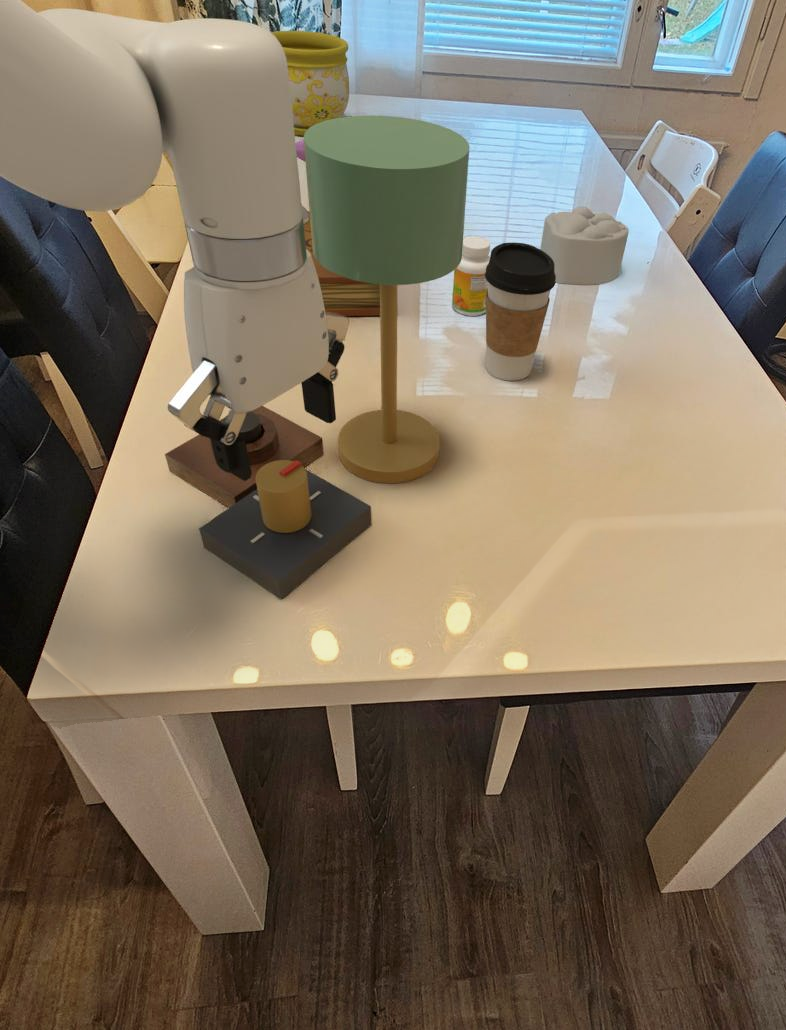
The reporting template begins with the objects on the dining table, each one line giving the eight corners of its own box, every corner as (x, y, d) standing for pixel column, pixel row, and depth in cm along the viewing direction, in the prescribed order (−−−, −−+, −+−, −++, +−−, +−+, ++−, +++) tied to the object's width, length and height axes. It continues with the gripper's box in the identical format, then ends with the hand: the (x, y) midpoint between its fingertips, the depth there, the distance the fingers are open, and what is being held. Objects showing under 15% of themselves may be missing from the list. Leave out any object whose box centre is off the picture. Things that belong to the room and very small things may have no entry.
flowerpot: (368, 131, 157) (366, 45, 146) (306, 146, 146) (298, 54, 135) (313, 111, 164) (307, 27, 153) (250, 124, 154) (239, 35, 142)
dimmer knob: (287, 540, 63) (280, 497, 59) (252, 518, 65) (244, 475, 61) (321, 514, 66) (317, 471, 62) (287, 493, 67) (281, 450, 64)
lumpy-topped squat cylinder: (535, 255, 117) (542, 202, 111) (609, 256, 120) (620, 204, 114) (548, 284, 110) (557, 229, 104) (627, 285, 112) (640, 231, 106)
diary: (395, 316, 99) (395, 277, 95) (257, 318, 95) (251, 278, 91) (380, 246, 115) (379, 210, 111) (261, 246, 111) (256, 209, 107)
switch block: (237, 513, 69) (231, 482, 66) (169, 470, 72) (160, 439, 69) (323, 453, 76) (321, 424, 73) (258, 417, 80) (253, 388, 77)
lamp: (398, 507, 71) (400, 182, 49) (303, 454, 76) (267, 135, 54) (471, 446, 79) (500, 143, 57) (381, 401, 84) (377, 106, 62)
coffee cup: (517, 345, 96) (531, 236, 85) (553, 377, 91) (573, 265, 81) (464, 359, 92) (473, 247, 82) (499, 392, 87) (513, 278, 77)
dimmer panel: (281, 599, 62) (278, 579, 60) (203, 547, 65) (197, 527, 63) (371, 524, 69) (371, 504, 67) (297, 481, 73) (294, 461, 71)
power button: (242, 450, 70) (239, 436, 69) (217, 436, 71) (214, 422, 70) (269, 433, 72) (267, 420, 71) (244, 420, 73) (242, 406, 72)
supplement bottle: (446, 300, 103) (450, 234, 97) (481, 297, 105) (487, 232, 98) (458, 318, 100) (463, 251, 93) (493, 315, 102) (501, 249, 95)
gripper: (300, 195, 54) (319, 382, 66) (99, 269, 44) (165, 477, 55) (375, 223, 52) (380, 413, 63) (180, 309, 41) (231, 518, 53)
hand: (280, 442), depth 59 cm, fingers open, 9 cm apart
